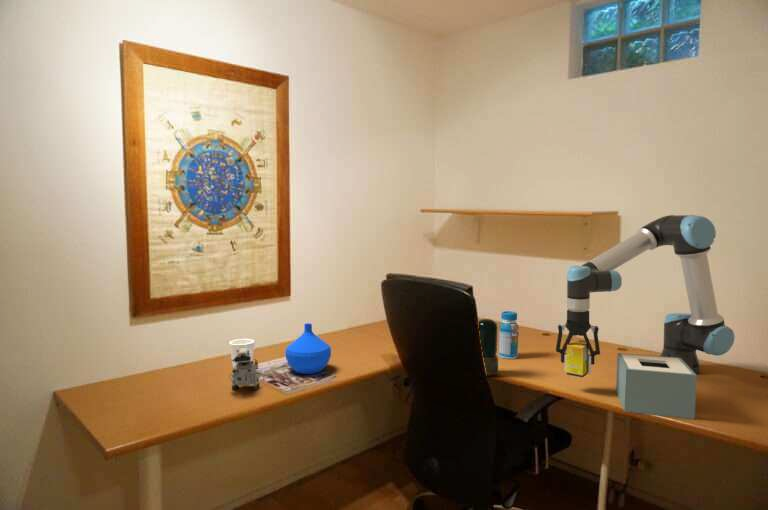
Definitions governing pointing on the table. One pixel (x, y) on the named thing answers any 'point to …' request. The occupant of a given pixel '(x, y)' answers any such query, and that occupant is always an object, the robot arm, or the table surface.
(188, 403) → the table surface
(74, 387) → the table surface
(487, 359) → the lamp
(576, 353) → the supplement box
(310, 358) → the vase
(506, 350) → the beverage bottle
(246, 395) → the table surface
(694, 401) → the box
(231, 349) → the foam cup
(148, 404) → the table surface
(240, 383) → the figurine
